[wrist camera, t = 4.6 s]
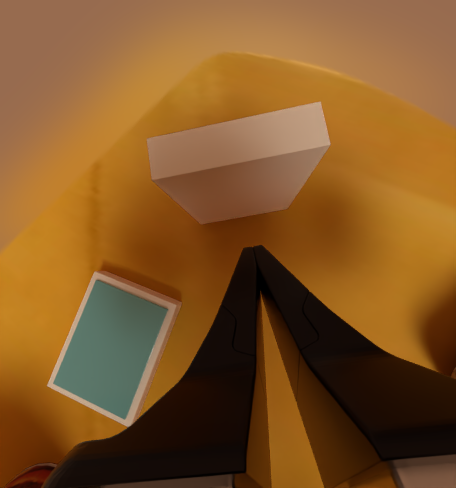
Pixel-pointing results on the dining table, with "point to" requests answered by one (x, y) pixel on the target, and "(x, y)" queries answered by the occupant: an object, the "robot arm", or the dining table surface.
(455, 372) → the ceramic mug
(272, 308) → the robot arm
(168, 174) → the tile
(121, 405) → the flat tile
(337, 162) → the dining table surface
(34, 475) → the canned food
